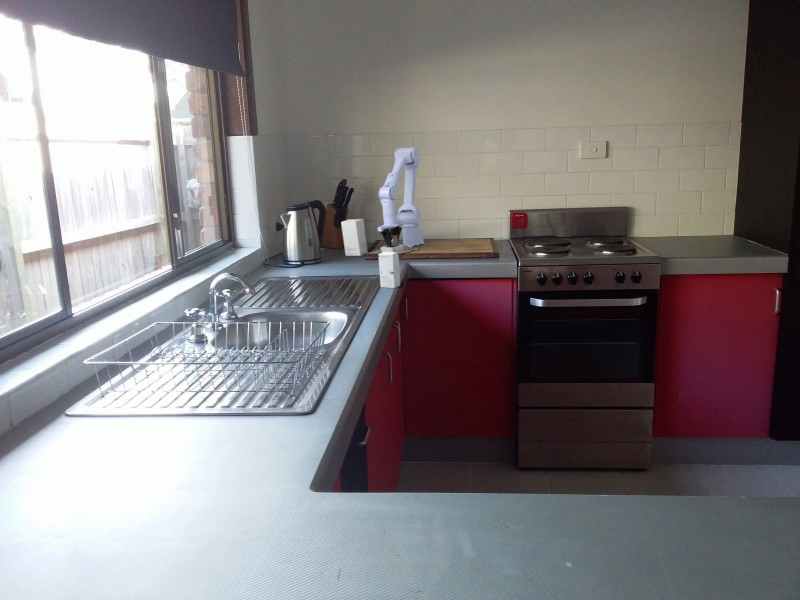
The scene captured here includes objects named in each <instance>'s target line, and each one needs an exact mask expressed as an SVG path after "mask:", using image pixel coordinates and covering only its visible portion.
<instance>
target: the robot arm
mask: <svg viewBox="0 0 800 600" xmlns="http://www.w3.org/2000/svg"><path fill="white" fill-rule="evenodd" d="M420 155H421V154H420V151H419V148H418V147H416V146H413V147H412V146H411V147H397V148H396V149H395V151H394V160H395V161H394V164H393V167H392V171H391V172H389V173H388V174H387V177H386V179H385V182H384V183H383V186H380V188H379V189H378V199H379V200H380V204H381V206H382V217H383V218H382V220H383V224H382V225H379V226H377V231H378V232H380V233H379V234H380V235H381V236H382V237H383V240H384V242H385V246H386V245H387V246H391V235H392V234H397V238H398V242H399V241H400V236H401V234H402V243H403V244H402V243H401V245H405V246H410V245H411V246H414V247H416V246H415V245H417V246H420V244H421V245H423V244H426V241H425V242H424V231H423V227H422V226H421V225H420V223H421V221H422V215H421V209H420V208H419V207H418V206H417V205H416V189H417V187H416V185H417V172H418V171H417V169H418V167H419V166H420ZM403 170H405V171H404V173H405V174H404V192H403V204H402V205H401V206H400V207H399V208H398V212H397V210H396V209H397V208H396V198H397V197H398V186H399V184H400V182H401V174H402V171H403Z"/></svg>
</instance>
